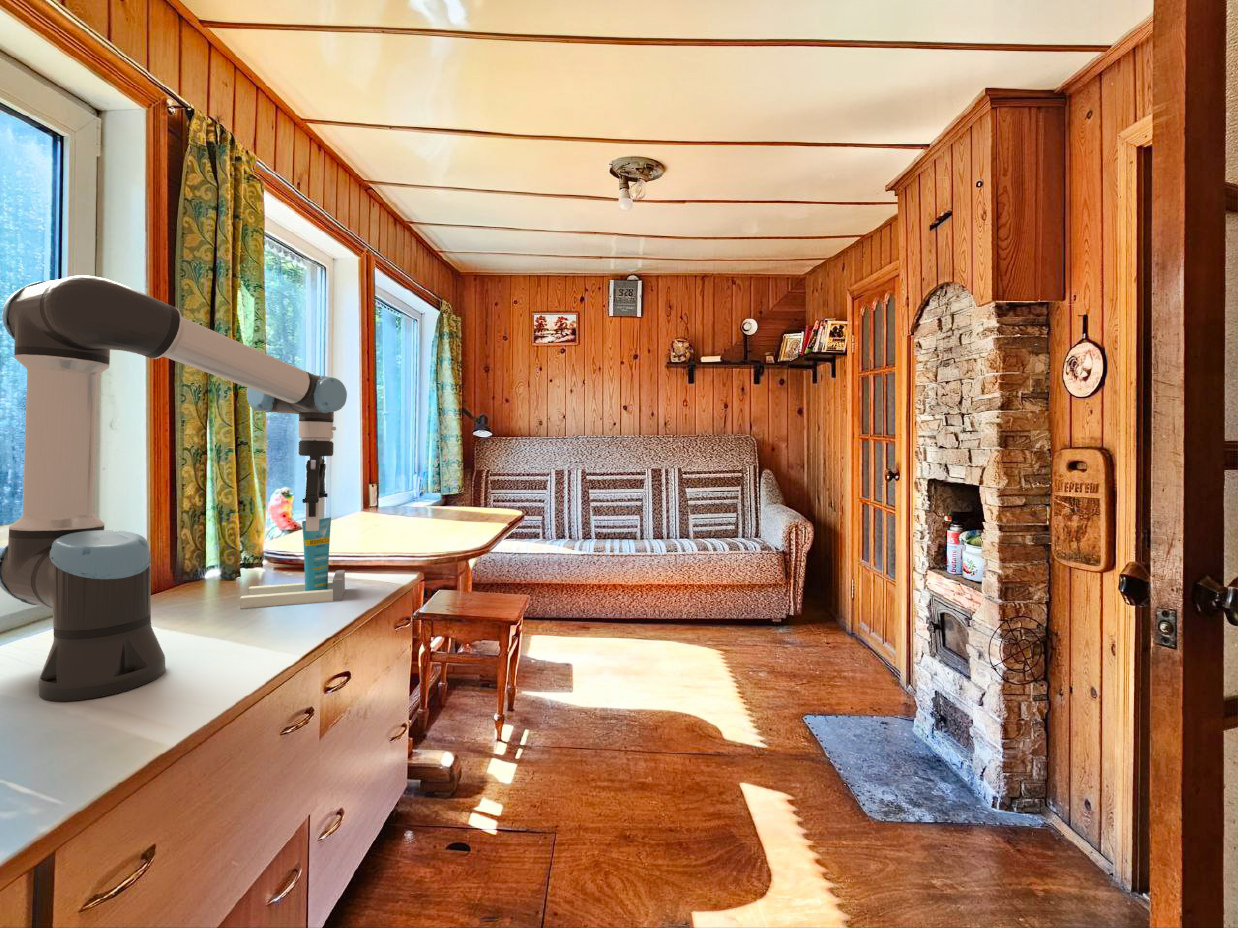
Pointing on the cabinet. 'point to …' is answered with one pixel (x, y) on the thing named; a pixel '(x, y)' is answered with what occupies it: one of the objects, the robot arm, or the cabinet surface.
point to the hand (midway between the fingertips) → (315, 527)
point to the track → (293, 593)
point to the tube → (316, 555)
